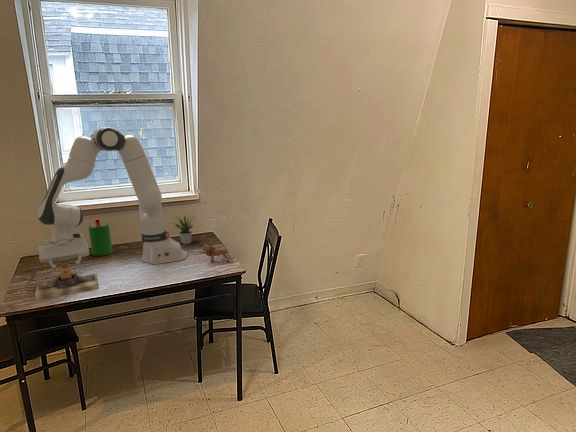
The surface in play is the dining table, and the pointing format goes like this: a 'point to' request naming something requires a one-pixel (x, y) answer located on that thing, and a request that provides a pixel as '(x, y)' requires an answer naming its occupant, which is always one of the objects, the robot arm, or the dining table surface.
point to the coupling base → (66, 286)
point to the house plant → (185, 230)
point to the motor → (100, 239)
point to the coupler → (65, 272)
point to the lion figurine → (215, 252)
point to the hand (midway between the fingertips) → (66, 266)
